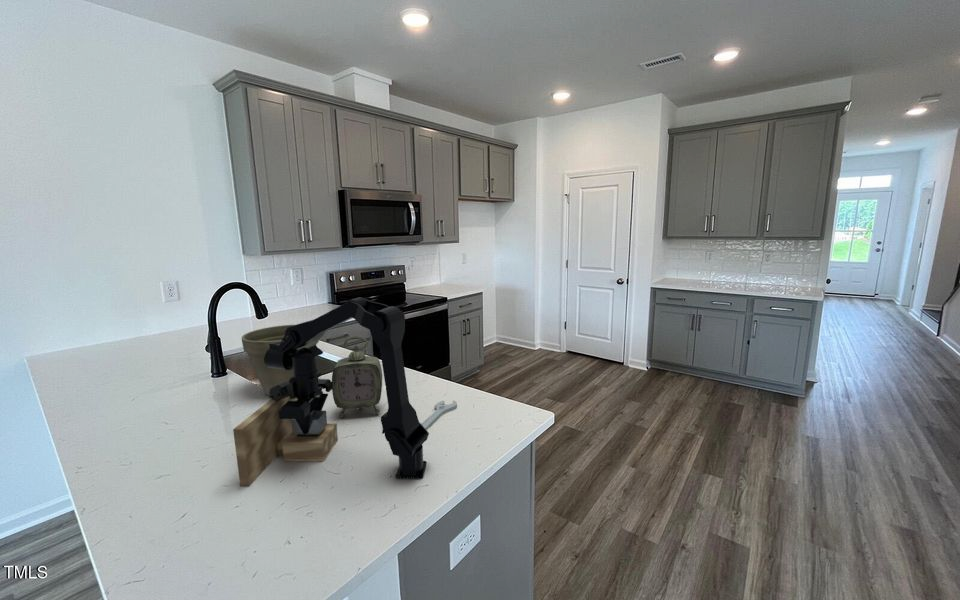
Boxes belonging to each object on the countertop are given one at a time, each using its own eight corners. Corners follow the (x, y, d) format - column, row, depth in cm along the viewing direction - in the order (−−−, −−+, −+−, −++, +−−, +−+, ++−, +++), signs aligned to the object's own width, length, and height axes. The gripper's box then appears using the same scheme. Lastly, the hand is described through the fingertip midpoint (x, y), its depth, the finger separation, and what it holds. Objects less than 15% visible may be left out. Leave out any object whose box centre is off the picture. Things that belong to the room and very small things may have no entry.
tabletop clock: (334, 421, 121) (328, 341, 116) (338, 408, 130) (333, 334, 125) (383, 416, 124) (379, 339, 119) (384, 404, 132) (380, 331, 128)
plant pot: (252, 382, 152) (246, 327, 148) (321, 372, 162) (317, 320, 158) (243, 408, 130) (236, 344, 126) (324, 395, 139) (319, 336, 136)
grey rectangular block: (320, 448, 102) (317, 419, 101) (294, 448, 102) (291, 419, 101) (328, 438, 107) (326, 410, 106) (303, 438, 107) (300, 410, 106)
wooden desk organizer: (305, 486, 90) (300, 429, 88) (240, 486, 90) (233, 429, 88) (349, 422, 120) (346, 378, 117) (300, 422, 120) (296, 378, 117)
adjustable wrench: (415, 443, 109) (414, 437, 109) (396, 438, 112) (396, 432, 112) (459, 406, 131) (459, 401, 131) (443, 403, 134) (442, 398, 134)
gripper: (291, 359, 110) (296, 412, 113) (252, 385, 92) (259, 447, 95) (331, 359, 110) (335, 412, 113) (300, 385, 92) (306, 447, 95)
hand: (310, 428), depth 104 cm, fingers closed on grey rectangular block, 5 cm apart
